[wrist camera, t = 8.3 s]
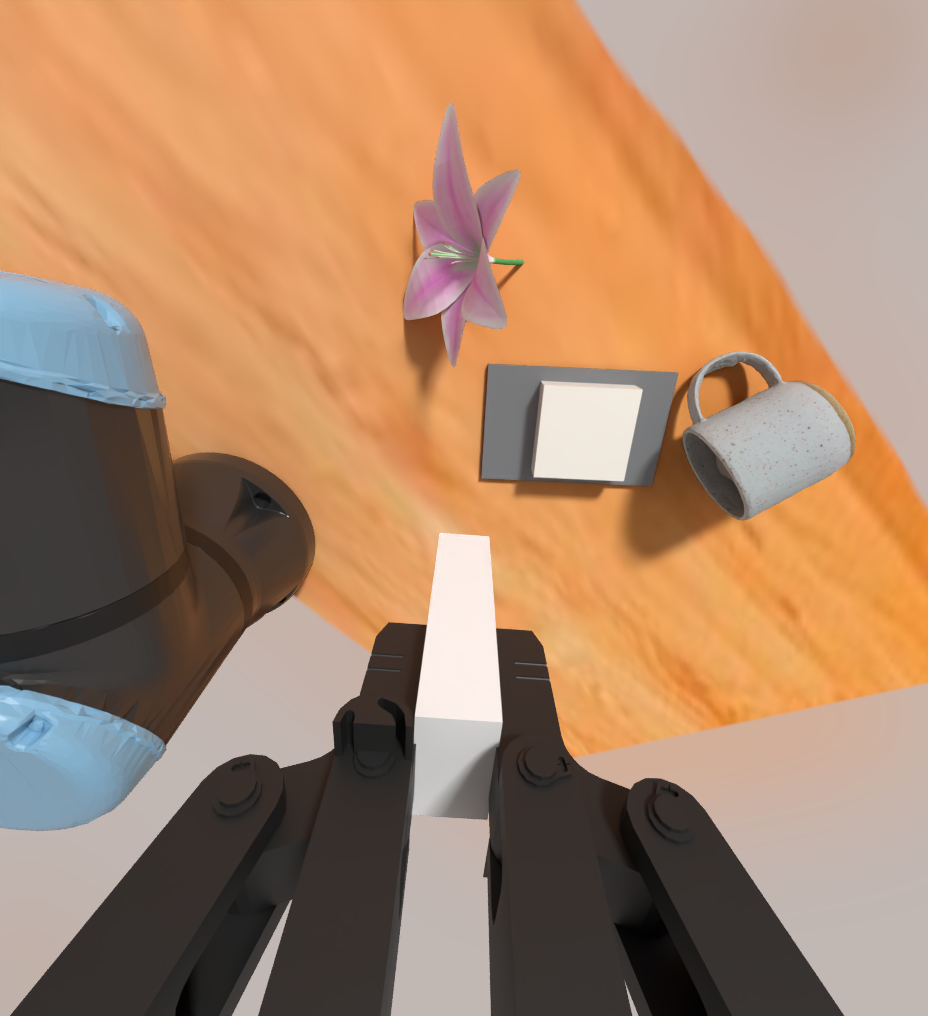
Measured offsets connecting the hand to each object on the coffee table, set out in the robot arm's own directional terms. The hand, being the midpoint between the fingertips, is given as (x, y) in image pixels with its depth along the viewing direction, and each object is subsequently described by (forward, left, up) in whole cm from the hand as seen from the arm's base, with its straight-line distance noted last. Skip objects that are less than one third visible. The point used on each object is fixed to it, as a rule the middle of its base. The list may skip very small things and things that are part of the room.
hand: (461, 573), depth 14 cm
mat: (+8, -1, -23) cm, 25 cm away
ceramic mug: (+20, 0, -23) cm, 31 cm away
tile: (+5, -1, -22) cm, 22 cm away
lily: (-1, +10, -23) cm, 25 cm away
